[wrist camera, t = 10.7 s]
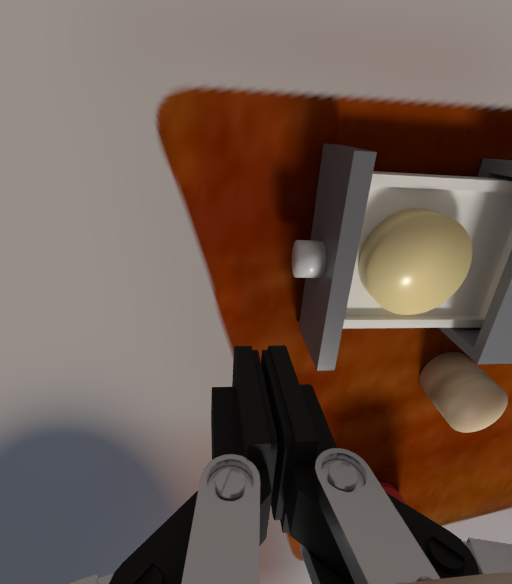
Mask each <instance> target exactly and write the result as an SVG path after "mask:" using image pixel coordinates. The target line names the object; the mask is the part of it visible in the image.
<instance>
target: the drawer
mask: <svg viewBox="0 0 512 584" xmlns="http://www.w3.org/2000/svg"><path fill="white" fill-rule="evenodd" d="M376 155H377V152H374V151H369V150H365V149H360V148H355V147H351V146H346V145H341V144H325V143H323V151H322V158H321V166H320V173H319V181H318V188H317V195H316V203H315V210H314V218H313V225H312V232H311V240H296V241H295V242H294V245H293V250H292V271H293V275H294V277H295V278H305V284H304V292H303V299H302V307H301V314H300V321H299V330H300V332H301V335H302V337H303V339H304V342H305V344H306V346H307V349H308V351H309V353H310V355H311V358H312V360H313V362H314V365H315V367H316V369H317V371H318V370H335V365H336V360H337V354H338V349H339V344H340V339H341V334H342V329H343V328H475V327H482V325H483V323H484V320H485V317H486V315H487V312H488V310H489V307H490V304H491V302H492V299H493V297H494V294H495V291H496V289H497V286H498V284H499V281H500V278H501V276H502V273H503V271H504V268H505V265H506V263H507V260H508V258H509V255H510V252H511V250H512V179H503V178H485V177H467V176H449V175H431V174H413V173H395V172H377V171H373V170H374V165H375V160H376ZM412 208H424V209H429V210H432V211H435V212H437V213H440V214H442V215H445V216H447V217H449V218H452V219H454V220H455V221H457V222H459V223H460V224H461V225H462V226H463V227H464V229H465V230H466V231H467V233H468V235H469V237H470V240H471V244H472V261H471V265H470V269H469V271H468V274H467V276H466V278H465V280H464V281H463V283H462V284H461V286H460V287H459V288H458V290H457V291H456V292H455V293H454V294H453V295H452V296H451V297H450V298H449V299H448V300H446V301H445V302H444V303H442V304H441V305H439V306H438V307H436V308H434V309H432V310H429V311H427V312H424V313H420V314H415V315H400V314H395V313H392V312H390V311H388V310H386V309H384V308H383V307H382V306H381V305H380V304H379V303H378V302H377V301H376V300H375V299H374V298H373V297H372V296H371V295H370V294H369V293H368V292H367V291H366V289H365V288H364V286H363V284H362V282H361V280H360V277H359V271H358V263H359V257H360V252H361V250H362V247H363V245H364V243H365V241H366V239H367V238H368V236H369V235H370V233H371V232H372V231H373V230H374V229H375V227H377V226H378V225H379V224H380V223H381V222H382V221H383V220H385V219H386V218H388V217H389V216H391V215H393V214H395V213H397V212H400V211H403V210H406V209H412Z"/></svg>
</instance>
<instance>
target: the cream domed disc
mask: <svg viewBox="0 0 512 584" xmlns="http://www.w3.org/2000/svg"><path fill="white" fill-rule="evenodd" d="M471 261H472V244H471V240H470V237H469V235H468V233H467V231H466V230H465V229H464V227H463V226H462V225H461V224H460V223H459V222H457V221H455V220H454V219H452V218H449V217H447V216H445V215H442V214H440V213H437V212H435V211H432V210H429V209H424V208H412V209H406V210H403V211H400V212H397V213H395V214H393V215H391V216H389V217H388V218H386V219H385V220H383V221H382V222H381V223H380V224H379V225H378V226H377V227H375V229H374V230H373V231H372V232H371V233H370V235H369V236H368V238H367V239H366V241H365V243H364V245H363V247H362V250H361V252H360V257H359V263H358V271H359V277H360V280H361V282H362V284H363V286H364V288H365V289H366V291H367V292H368V293H369V294H370V295H371V296H372V297H373V298H374V299H375V300H376V301H377V302H378V303H379V304H380V305H381V306H382V307H383V308H384V309H386V310H388V311H390V312H392V313H395V314H400V315H415V314H420V313H424V312H427V311H429V310H432V309H434V308H436V307H438V306H439V305H441V304H442V303H444V302H445V301H446V300H448V299H449V298H450V297H451V296H452V295H453V294H454V293H455V292H456V291H457V290H458V288H459V287H460V286H461V284H462V283H463V281H464V280H465V278H466V276H467V274H468V271H469V269H470V265H471Z"/></svg>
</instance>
